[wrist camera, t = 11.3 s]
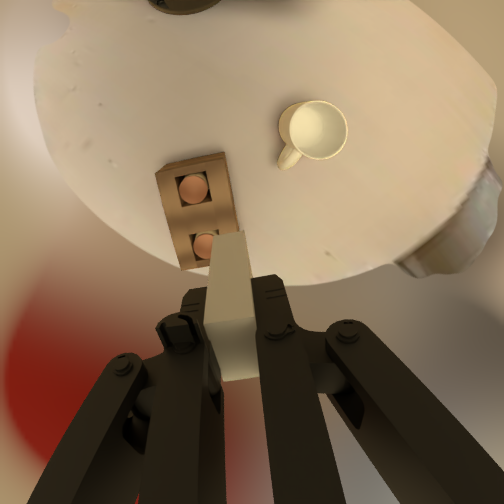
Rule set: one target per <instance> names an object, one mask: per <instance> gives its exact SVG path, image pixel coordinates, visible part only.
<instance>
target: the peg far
mask: <svg viewBox="0 0 504 504" xmlns="http://www.w3.org/2000/svg"><path fill="white" fill-rule="evenodd" d="M215 235H220V234H219V230H218V229H217V230H211V231H206V232H200V233H196V237H195V241H194V245H193V248H194V251H195V253H196V254H197V255H198V256H199V257H201V258H204V259H210V258H211V251H212V243H213V236H215Z"/></svg>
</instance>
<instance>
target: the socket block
mask: <svg viewBox="0 0 504 504" xmlns="http://www.w3.org/2000/svg"><path fill="white" fill-rule="evenodd" d="M202 171H206V173H207V178H208V183H209V188H210V189H208V191H207V194H206V196H205V198H204V199H203V200H202V201H201V202H199V203H195V204H191V203H188V202H186V201H184V200H183V199H182V197H181V196H180V193H179V187H180V184H181V182H182V181H183V180H184V178H185V175H187V174H192V173H197V172H202ZM155 176H156V180H157V184H158V188H159V192H160V196H161V200H162V204H163V208H164V211H165V215H166V219H167V223H168V226H169V230H170V233H171V237H172V240H173V244H174V247H175V251H176V254H177V258H178V261H179V264H180V268H181V270H188V269H194V268H200V267H206V266H210V259H211V258H210V259H204V258H201V257H199V256H198V255H197V254H196V253H195V251H194V248H193V245H194V241H195V237H196V233H200V232H206V231H211V230H217V229H218V230H219V234H220V235H221V234H227V233H232V232H238V231H239V226H238V220H237V215H236V210H235V205H234V199H233V194H232V189H231V183H230V178H229V173H228V167H227V162H226V157H225V152H222V153H217V154H212V155H207V156H202V157H197V158H192V159H187V160H183V161H179V162H174V163H170V164H166V165H165V166H164V167H162V168H161V169H160V170H159V171H157V172H156V173H155Z"/></svg>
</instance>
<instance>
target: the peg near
mask: <svg viewBox="0 0 504 504" xmlns="http://www.w3.org/2000/svg"><path fill="white" fill-rule="evenodd" d="M208 188H209V183H208V178H207V173H206V171H202V172H197V173H192V174H187V175H186V177H185V178H184V180H183V181H182V182H181V184H180V187H179V193H180V196H181V197H182V199H183V200H184V201H186V202H188V203H191V204H195V203H199V202H201V201H202V200H203V199H204V198H205V196H206V194H207V191H208Z"/></svg>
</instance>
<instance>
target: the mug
mask: <svg viewBox="0 0 504 504" xmlns="http://www.w3.org/2000/svg"><path fill="white" fill-rule="evenodd" d="M279 133H280V136H281V138H282V139H283V141H284V142H285V143H286V146H285V147H284V149H283V150H282V152H281V154H280V156H279V158H278V162H277V166H278V168H279V169H280V170H287V169H289V168H291V167H292V166H293V165H294V164H295V163H296V162H297V161H298V160H299V159H300V158H301V156H302V155H304V156H306V157H308V158H311V159H317V160H322V159H327V158H330V157H332V156H334V155H336V154H337V153H338V152H339V151H340V150H341V149H342V148H343V146H344V144H345V142H346V140H347V135H348V127H347V122H346V119H345V117H344V115H343V114H342V112H341V111H340V110H339V109H338V108H337V107H336V106H334V105H333V104H331V103H328V102H325V101H320V100H315V101H308V102H302V103H296V104H293V105H291V106H290V107H288V108H287V109H286V110H285V111H284V112H283V113H282V115H281V117H280V120H279Z"/></svg>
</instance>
